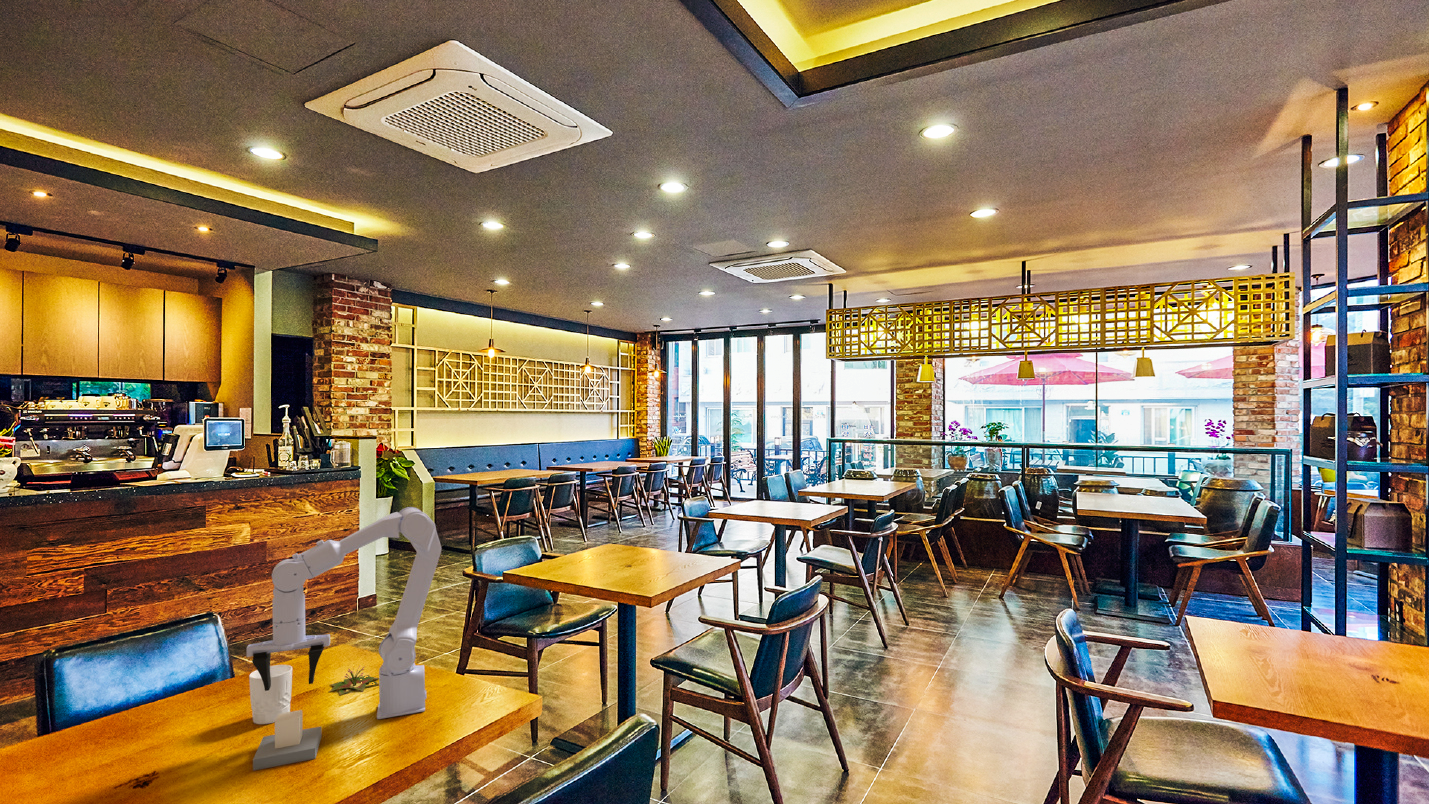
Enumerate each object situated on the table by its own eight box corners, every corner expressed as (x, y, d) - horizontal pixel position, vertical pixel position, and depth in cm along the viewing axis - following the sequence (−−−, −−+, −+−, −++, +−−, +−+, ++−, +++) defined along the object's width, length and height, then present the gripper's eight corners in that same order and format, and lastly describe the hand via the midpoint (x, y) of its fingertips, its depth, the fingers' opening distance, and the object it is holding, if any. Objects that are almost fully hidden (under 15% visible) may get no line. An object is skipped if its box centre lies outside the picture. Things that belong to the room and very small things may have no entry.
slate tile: (321, 736, 140) (321, 726, 140) (315, 758, 131) (315, 748, 131) (263, 746, 136) (263, 736, 136) (253, 770, 127) (252, 759, 127)
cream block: (302, 735, 136) (302, 709, 136) (299, 744, 133) (299, 718, 133) (278, 739, 135) (278, 713, 135) (275, 748, 131) (274, 722, 131)
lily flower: (320, 687, 167) (320, 668, 167) (373, 673, 175) (373, 655, 175) (334, 702, 158) (334, 682, 158) (389, 687, 166) (389, 668, 166)
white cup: (271, 727, 145) (271, 679, 145) (240, 724, 146) (239, 677, 146) (301, 711, 152) (300, 665, 152) (271, 708, 154) (270, 663, 154)
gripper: (242, 629, 135) (243, 699, 135) (327, 619, 141) (328, 686, 141) (250, 620, 141) (251, 686, 141) (330, 610, 147) (331, 674, 147)
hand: (289, 685), depth 141 cm, fingers open, 7 cm apart
